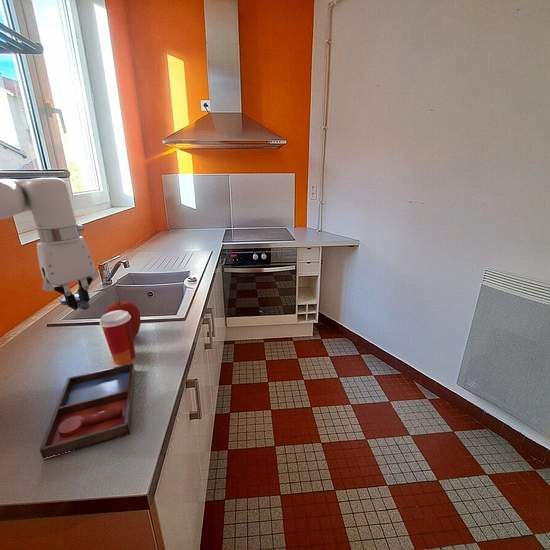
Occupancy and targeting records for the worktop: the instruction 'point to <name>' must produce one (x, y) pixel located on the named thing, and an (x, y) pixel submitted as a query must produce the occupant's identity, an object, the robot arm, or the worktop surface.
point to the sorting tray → (92, 409)
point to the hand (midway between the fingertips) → (79, 305)
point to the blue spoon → (80, 302)
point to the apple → (130, 309)
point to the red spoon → (86, 421)
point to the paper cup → (119, 336)
